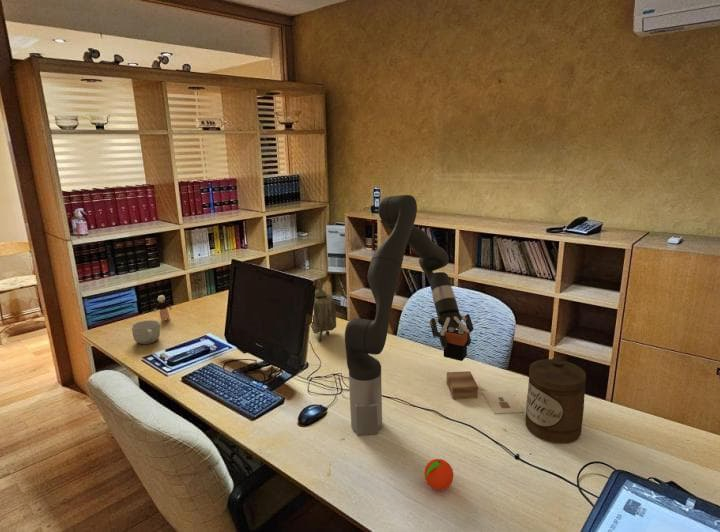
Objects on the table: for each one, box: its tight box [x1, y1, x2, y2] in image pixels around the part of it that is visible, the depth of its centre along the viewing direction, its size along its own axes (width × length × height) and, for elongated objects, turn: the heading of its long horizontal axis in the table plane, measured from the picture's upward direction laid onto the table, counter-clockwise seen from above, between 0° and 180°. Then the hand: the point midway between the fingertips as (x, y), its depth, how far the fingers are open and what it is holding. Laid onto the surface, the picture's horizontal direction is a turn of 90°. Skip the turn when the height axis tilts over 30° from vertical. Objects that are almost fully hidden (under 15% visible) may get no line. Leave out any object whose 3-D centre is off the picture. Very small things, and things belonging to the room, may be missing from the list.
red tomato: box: [423, 458, 454, 491], centre depth 113 cm, size 8×7×7 cm
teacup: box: [130, 319, 161, 345], centre depth 199 cm, size 14×11×8 cm
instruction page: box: [482, 390, 524, 415], centre depth 148 cm, size 12×9×1 cm
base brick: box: [446, 370, 479, 400], centre depth 155 cm, size 10×8×4 cm
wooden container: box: [525, 356, 587, 445], centre depth 132 cm, size 15×15×22 cm
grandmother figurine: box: [153, 294, 173, 323], centre depth 221 cm, size 8×4×13 cm, turn 130°
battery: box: [443, 327, 468, 362], centre depth 157 cm, size 4×7×10 cm, turn 57°
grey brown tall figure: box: [310, 278, 337, 342], centre depth 198 cm, size 14×9×25 cm, turn 17°
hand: (457, 346), depth 156 cm, fingers closed on battery, 7 cm apart
